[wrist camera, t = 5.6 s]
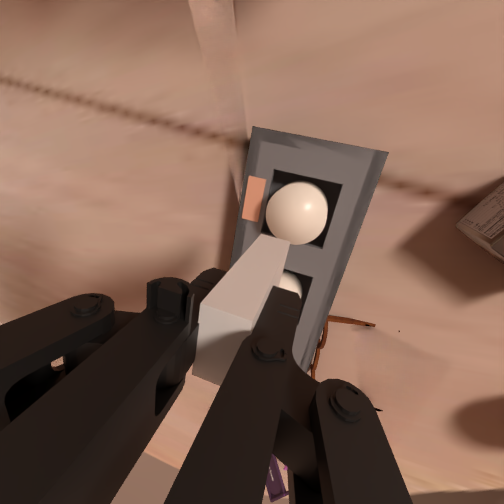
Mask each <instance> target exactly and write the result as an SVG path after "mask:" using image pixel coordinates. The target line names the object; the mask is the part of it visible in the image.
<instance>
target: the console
mask: <svg viewBox="0 0 504 504" xmlns="http://www.w3.org/2000/svg"><path fill="white" fill-rule="evenodd" d="M388 153H389V152H385V151H380V150H374V149H369V148H364V147H359V146H353V145H348V144H343V143H338V142H333V141H327V140H322V139H317V138H312V137H307V136H301V135H296V134H291V133H286V132H280V131H275V130H270V129H265V128H260V127H254V126H253V127H252V133H251V139H250V145H249V152H248V158H247V164H246V170H245V176H244V182H243V189H242V195H241V201H240V207H239V213H238V219H237V226H236V232H235V238H234V244H233V250H232V256H231V263H230V269H231V268H232V266H233V265H234V264H235V263H236V262H237V261H238V260H239V258H240V257H241V256H242V255H243V254H244V253H245V252H246V250H247V249H248V248H249V247H250V246H251V245H252V244H253V242H254V241H255V240H256V239H257V238H258V237H259V236H260V234H264V235H268V236H271V237H275V236H274V235H273V233H272V232H271V231H270V229H269V227H268V225H267V221H266V208H267V205H268V202H269V200H270V199H271V197H272V196H273V195H274V194H275V193H276V192H277V191H278V190H280V189H281V188H282V187H284V186H285V185H287V184H288V183H291V182H294V181H299V180H301V181H308V182H311V183H313V184H315V185H317V186H318V187H319V188H320V189H321V190H322V191H323V193H324V194H325V196H326V199H327V203H328V212H327V220H326V224H325V227H324V229H323V231H322V232H321V233H320V235H319V236H318V237H316V238H315V239H314V240H312V241H310V242H308V243H305V244H301V245H292V244H290V246H289V250H288V253H287V257H286V261H285V265H284V269H286V270H288V271H290V272H292V273H293V274H294V275H296V277H297V278H298V279H299V281H300V282H301V285H302V297H301V301H302V304H301V309H300V313H299V318H298V323H297V328H296V332H295V337H294V342H293V346H292V353H293V357H294V359H295V361H296V363H297V364H298V366H299V367H300V368H301V369H302V370H303V371H304V372H305V373H307V370H308V368H309V365H310V362H311V360H312V357H313V354H314V352H315V349H316V346H317V344H318V341H319V338H320V336H321V333H322V330H323V327H324V325H325V322H326V319H327V317H328V314H329V311H330V309H331V306H332V303H333V301H334V298H335V295H336V293H337V290H338V287H339V285H340V282H341V279H342V277H343V274H344V271H345V268H346V266H347V263H348V260H349V258H350V255H351V252H352V250H353V247H354V244H355V242H356V239H357V236H358V234H359V231H360V228H361V226H362V223H363V220H364V218H365V215H366V212H367V209H368V207H369V204H370V201H371V199H372V196H373V193H374V191H375V188H376V185H377V183H378V180H379V177H380V175H381V172H382V169H383V167H384V164H385V161H386V159H387V156H388ZM275 238H277V237H275ZM230 269H229V270H230Z"/></svg>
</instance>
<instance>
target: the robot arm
mask: <svg viewBox="0 0 504 504" xmlns="http://www.w3.org/2000/svg"><path fill="white" fill-rule="evenodd" d="M289 246H290V241H286V240H282V239H279V238H275V237H271V236H268V235H264V234H260V236H259V237H258V238H257V239H256V240H255V241H254V242H253V244H252V245H251V246H250V247H249V248H248V249H247V250H246V252H245V253H244V254H243V255H242V256H241V257H240V258H239V260H238V261H237V262H236V263H235V264H234V265H233V266H232V268H231V269H230V270H229V271H228V272H225V271H222V270H219V269H216V268H211V269H209V270H206V271H203V272H202V273H201V274H200V275H199V276H198V277H196V279H194V280H193V281H192V282H191V283H189V282H186V281H184V280H182V279H178V278H173V277H163V278H159V279H154V280H152V281H150V282H148V283H147V308H146V309H145V310H144V311H142V312H141V313H134V312H125V311H115V310H114V301H113V300H112V299H111V298H110V297H108V296H106V295H103V294H96V293H90V294H82V295H78V296H75V297H71V298H69V299H66V300H64V301H61V302H59V303H56V304H54V305H51V306H49V307H46V308H43V309H41V310H38V311H36V312H33V313H31V314H28V315H26V316H23V317H21V318H18V319H15V320H13V321H10V322H8V323H5V324H3V325H0V504H110V503H111V502H112V500H113V498H114V497H115V495H116V494H117V492H118V490H119V489H120V487H121V486H122V484H123V482H124V481H125V479H126V478H127V476H128V474H129V473H130V471H131V470H132V468H133V467H134V465H135V463H136V462H137V460H138V459H139V457H140V456H141V454H142V452H143V451H144V449H145V448H146V446H147V445H148V443H149V441H150V440H151V438H152V437H153V435H154V433H155V432H156V430H157V429H158V427H159V426H160V424H161V422H162V421H163V419H164V418H165V416H166V414H167V413H168V411H169V410H170V408H171V406H172V405H173V403H174V402H175V400H176V399H177V397H178V395H179V394H180V392H181V391H182V389H183V386H184V383H185V376H186V373H187V371H188V370H189V368H190V367H191V365H192V364H193V369H192V375H194V376H197V377H199V378H202V379H204V380H207V381H209V382H212V383H214V384H217V385H219V386H220V388H219V390H218V393H217V395H216V397H215V399H214V401H213V403H212V405H211V407H210V409H209V411H208V413H207V415H206V417H205V419H204V421H203V423H202V426H201V428H200V430H199V432H198V434H197V436H196V438H195V440H194V442H193V444H192V446H191V448H190V450H189V452H188V454H187V456H186V459H185V461H184V463H183V465H182V467H181V469H180V471H179V473H178V475H177V477H176V479H175V481H174V483H173V485H172V488H171V489H170V492H169V494H168V496H167V498H166V500H165V502H164V504H262V500H263V495H264V490H265V485H266V480H267V475H268V471H269V466H270V461H271V456H272V454H273V455H275V456H276V457H277V458H278V459H279V460H280V461H281V462H282V463H283V464H284V465H286V466H287V473H288V489H289V504H413V503H412V500H411V498H410V495H409V493H408V490H407V488H406V485H405V483H404V480H403V478H402V475H401V473H400V470H399V468H398V465H397V463H396V460H395V458H394V455H393V453H392V450H391V448H390V445H389V443H388V440H387V438H386V435H385V432H384V430H383V427H382V425H381V422H380V420H379V417H378V415H377V412H376V410H375V408H374V407H373V405H372V403H371V401H370V400H369V398H368V397H367V396H366V395H365V394H364V393H363V392H362V391H361V390H360V389H358V388H357V387H355V386H354V385H352V384H351V383H349V382H346V381H343V380H340V379H327V380H325V381H323V382H321V383H319V382H318V381H316V380H315V379H313V378H312V377H310V376H309V375H308V374H307V373H305V372H304V371H303V370H302V369H301V368H300V367H299V366H298V364H297V363H296V361H295V359H294V357H293V353H292V346H293V342H294V337H295V332H296V328H297V323H298V318H299V313H300V309H301V304H302V301H301V299H300V296H299V294H298V293H296V292H293V291H289V290H286V289H283V288H280V287H279V284H280V280H281V276H282V273H283V269H284V265H285V261H286V257H287V253H288V250H289ZM62 356H63V362H64V364H62V365H59V366H57V367H51V362H52V361H54V360H56V359H58V358H60V357H62Z"/></svg>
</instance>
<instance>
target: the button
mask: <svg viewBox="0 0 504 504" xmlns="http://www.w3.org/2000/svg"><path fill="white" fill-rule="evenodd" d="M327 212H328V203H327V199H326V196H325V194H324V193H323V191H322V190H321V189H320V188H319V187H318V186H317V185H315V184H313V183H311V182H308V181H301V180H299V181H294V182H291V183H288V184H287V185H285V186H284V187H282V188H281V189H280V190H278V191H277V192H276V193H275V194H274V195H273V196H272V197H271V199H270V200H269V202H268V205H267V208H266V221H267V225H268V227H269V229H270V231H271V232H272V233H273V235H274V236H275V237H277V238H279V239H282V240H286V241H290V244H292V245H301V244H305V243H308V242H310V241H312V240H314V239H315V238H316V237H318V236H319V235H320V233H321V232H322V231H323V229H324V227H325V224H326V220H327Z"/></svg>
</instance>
